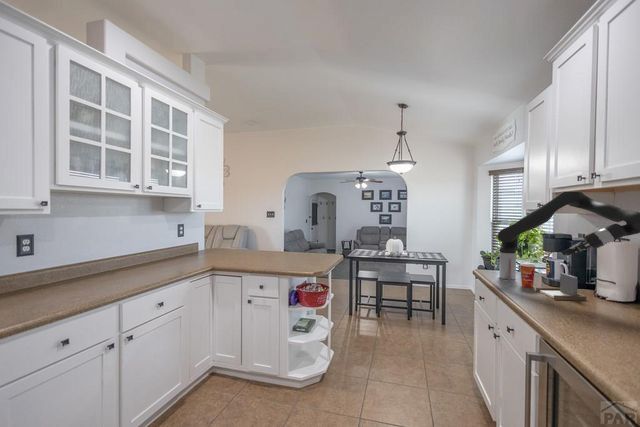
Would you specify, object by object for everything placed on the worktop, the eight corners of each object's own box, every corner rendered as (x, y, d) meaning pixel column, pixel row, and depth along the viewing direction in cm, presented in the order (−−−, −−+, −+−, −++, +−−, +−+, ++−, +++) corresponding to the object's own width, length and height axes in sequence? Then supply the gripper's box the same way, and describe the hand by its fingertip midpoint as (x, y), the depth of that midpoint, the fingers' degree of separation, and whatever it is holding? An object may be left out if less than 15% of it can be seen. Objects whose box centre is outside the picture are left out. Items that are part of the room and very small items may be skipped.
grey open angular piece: (539, 292, 171) (539, 272, 171) (562, 292, 170) (562, 272, 169) (554, 298, 159) (554, 277, 159) (578, 299, 158) (579, 277, 157)
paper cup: (516, 285, 185) (517, 262, 184) (524, 284, 188) (525, 261, 188) (530, 288, 178) (530, 264, 177) (538, 287, 181) (538, 263, 180)
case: (536, 291, 173) (536, 287, 173) (564, 291, 172) (564, 288, 171) (555, 299, 157) (555, 295, 157) (586, 300, 156) (586, 296, 156)
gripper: (589, 233, 161) (556, 247, 167) (597, 231, 149) (561, 247, 155) (599, 245, 158) (566, 260, 164) (608, 245, 146) (571, 260, 152)
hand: (564, 253), depth 160 cm, fingers open, 8 cm apart
